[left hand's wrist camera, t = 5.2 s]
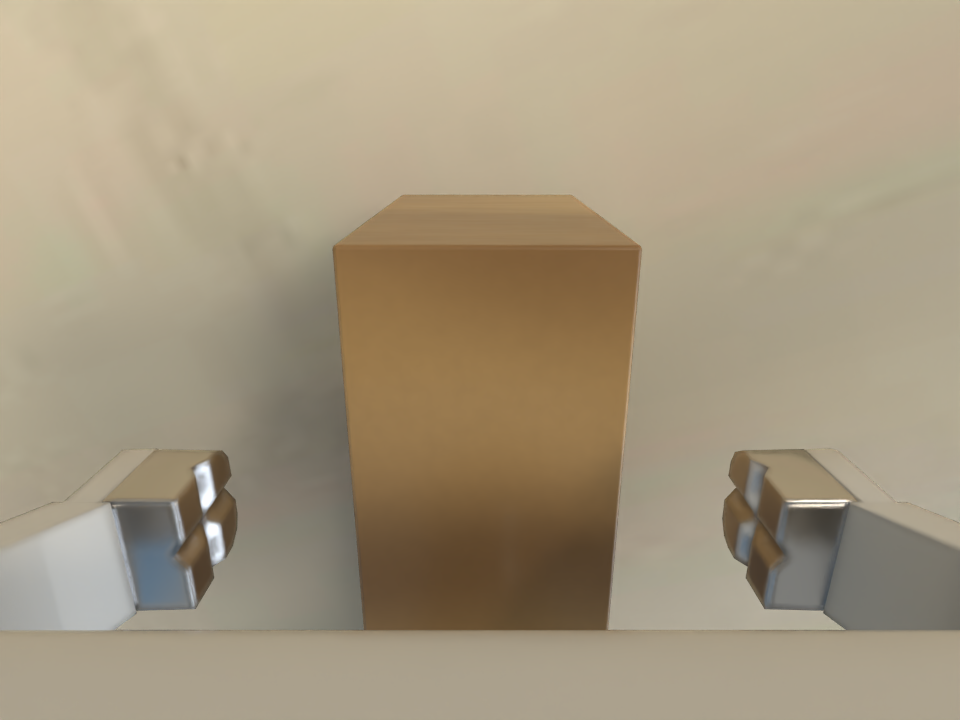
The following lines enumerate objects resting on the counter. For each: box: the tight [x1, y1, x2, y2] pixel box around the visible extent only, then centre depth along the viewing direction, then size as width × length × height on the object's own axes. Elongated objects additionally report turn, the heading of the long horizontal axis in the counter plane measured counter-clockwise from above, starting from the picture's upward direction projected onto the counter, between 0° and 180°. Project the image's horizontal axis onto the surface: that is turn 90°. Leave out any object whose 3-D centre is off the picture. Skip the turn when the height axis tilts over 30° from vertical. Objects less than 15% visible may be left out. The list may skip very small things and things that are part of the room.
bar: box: [333, 195, 642, 630], centre depth 19 cm, size 26×5×9 cm, turn 0°
